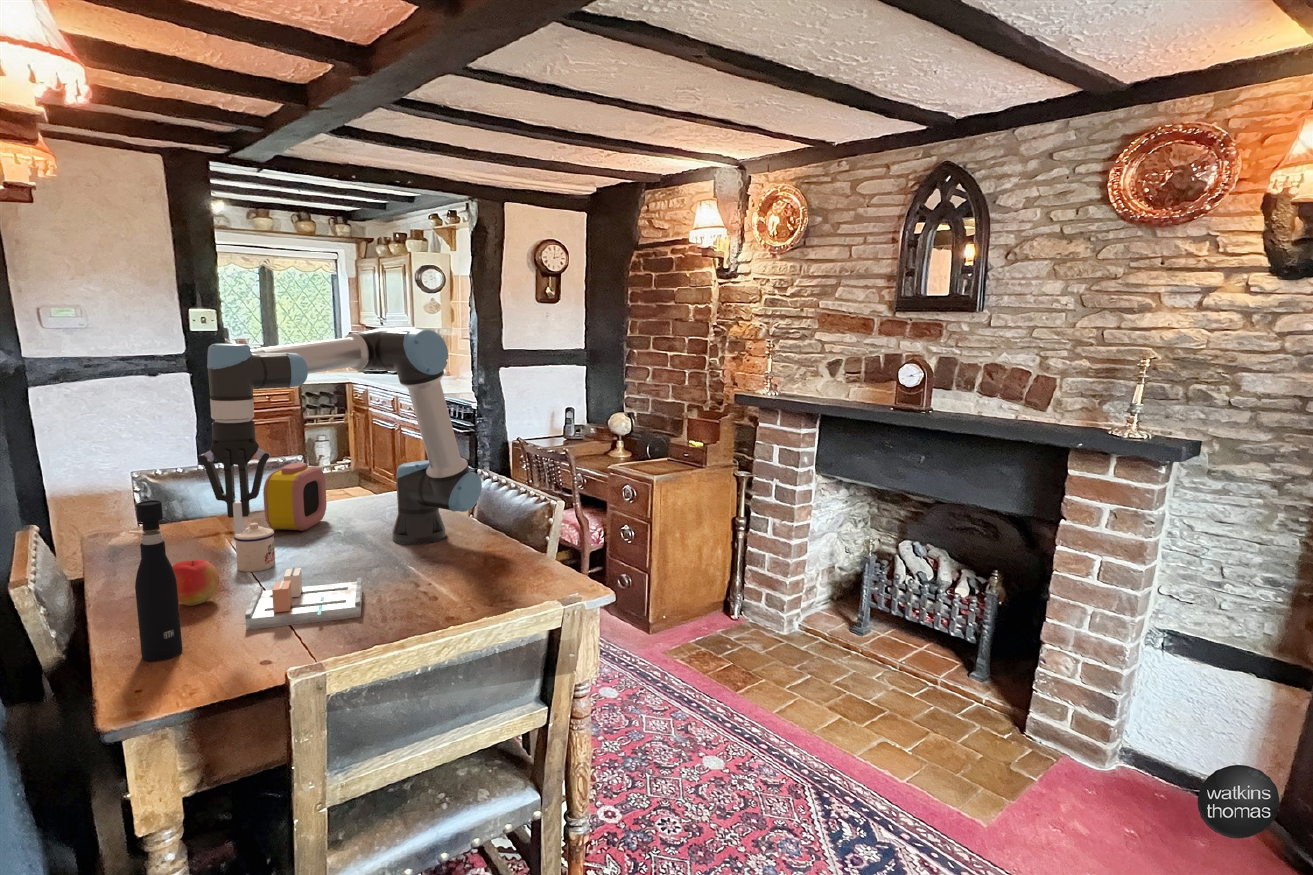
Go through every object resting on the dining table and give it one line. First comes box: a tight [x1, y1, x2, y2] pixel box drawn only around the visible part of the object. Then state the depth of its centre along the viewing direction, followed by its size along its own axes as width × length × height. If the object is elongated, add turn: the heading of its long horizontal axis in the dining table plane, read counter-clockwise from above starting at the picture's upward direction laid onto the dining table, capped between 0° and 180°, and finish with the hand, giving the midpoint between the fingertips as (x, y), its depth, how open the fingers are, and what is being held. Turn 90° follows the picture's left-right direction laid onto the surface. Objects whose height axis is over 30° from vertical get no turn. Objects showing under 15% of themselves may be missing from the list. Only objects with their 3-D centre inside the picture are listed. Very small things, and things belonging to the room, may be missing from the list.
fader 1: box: [271, 579, 292, 612], centre depth 151 cm, size 3×5×5 cm, turn 21°
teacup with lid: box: [233, 522, 276, 573], centre depth 183 cm, size 12×9×12 cm
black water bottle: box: [134, 499, 183, 663], centre depth 132 cm, size 6×6×30 cm
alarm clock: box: [262, 462, 327, 532], centre depth 216 cm, size 18×11×19 cm, turn 179°
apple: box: [172, 559, 220, 607], centre depth 157 cm, size 10×10×10 cm
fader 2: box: [283, 567, 303, 597], centre depth 159 cm, size 3×5×5 cm, turn 21°
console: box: [244, 577, 363, 631], centre depth 157 cm, size 22×20×3 cm
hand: (239, 531), depth 146 cm, fingers closed
